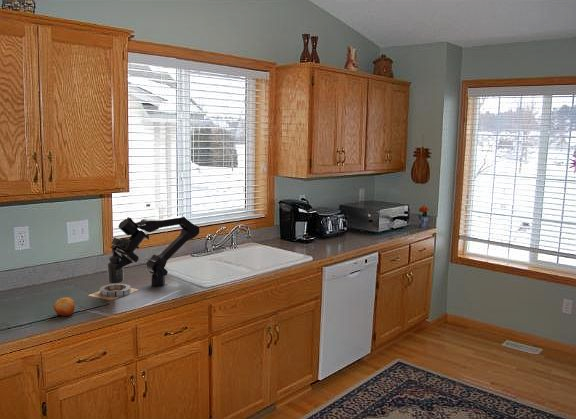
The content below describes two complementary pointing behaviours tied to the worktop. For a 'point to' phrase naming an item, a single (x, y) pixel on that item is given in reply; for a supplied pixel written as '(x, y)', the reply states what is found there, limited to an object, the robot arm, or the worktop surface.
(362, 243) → the worktop surface
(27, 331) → the worktop surface
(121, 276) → the supplement bottle
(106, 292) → the steel ring
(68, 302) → the fruit
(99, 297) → the oak board
